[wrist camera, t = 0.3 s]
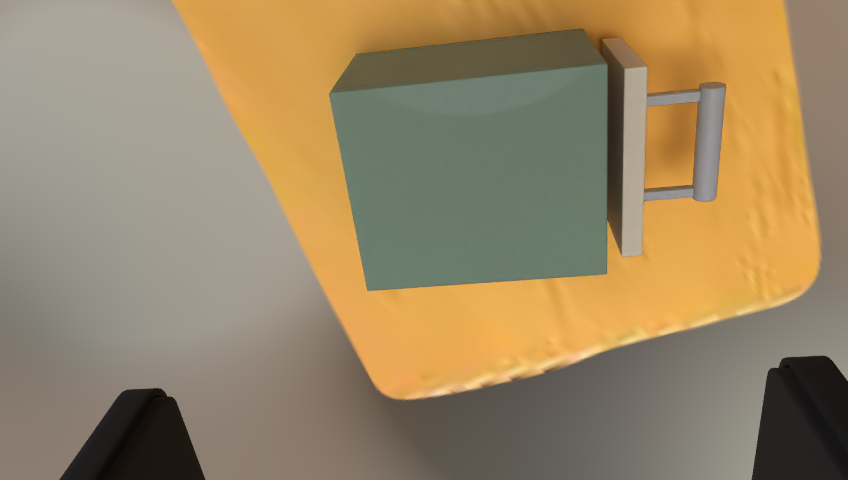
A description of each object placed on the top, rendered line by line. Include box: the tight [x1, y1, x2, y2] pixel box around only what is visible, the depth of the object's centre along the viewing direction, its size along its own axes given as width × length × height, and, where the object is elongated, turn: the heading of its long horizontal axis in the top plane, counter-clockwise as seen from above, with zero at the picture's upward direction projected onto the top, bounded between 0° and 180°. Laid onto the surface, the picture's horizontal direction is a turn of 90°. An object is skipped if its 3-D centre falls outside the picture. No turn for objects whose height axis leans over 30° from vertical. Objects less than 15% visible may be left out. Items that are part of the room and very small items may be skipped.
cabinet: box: [329, 29, 608, 291], centre depth 42 cm, size 15×13×9 cm
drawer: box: [602, 37, 726, 257], centre depth 41 cm, size 18×11×7 cm, turn 97°
